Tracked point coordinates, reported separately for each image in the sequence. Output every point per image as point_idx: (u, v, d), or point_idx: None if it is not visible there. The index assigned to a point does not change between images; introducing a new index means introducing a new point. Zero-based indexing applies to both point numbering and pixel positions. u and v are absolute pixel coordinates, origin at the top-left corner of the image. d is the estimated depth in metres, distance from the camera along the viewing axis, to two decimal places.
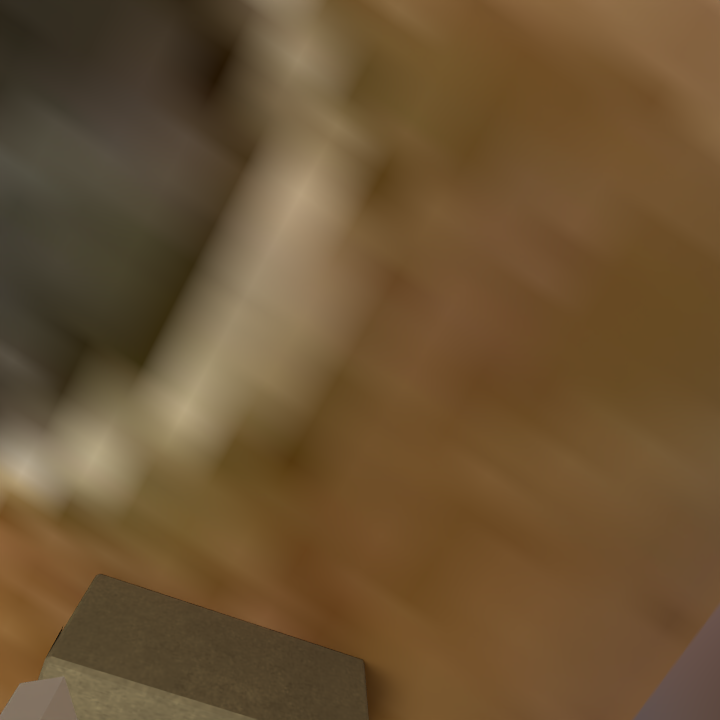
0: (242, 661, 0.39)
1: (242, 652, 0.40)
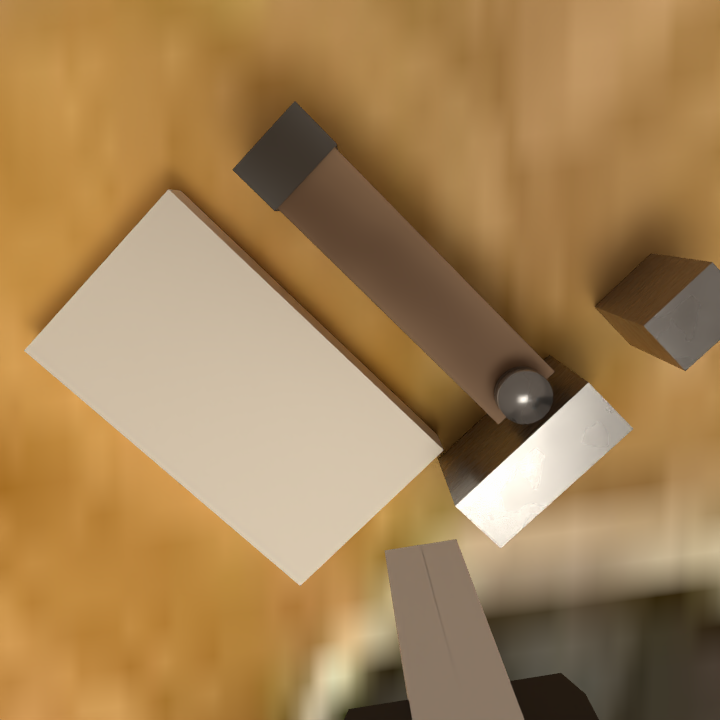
0: None
1: None
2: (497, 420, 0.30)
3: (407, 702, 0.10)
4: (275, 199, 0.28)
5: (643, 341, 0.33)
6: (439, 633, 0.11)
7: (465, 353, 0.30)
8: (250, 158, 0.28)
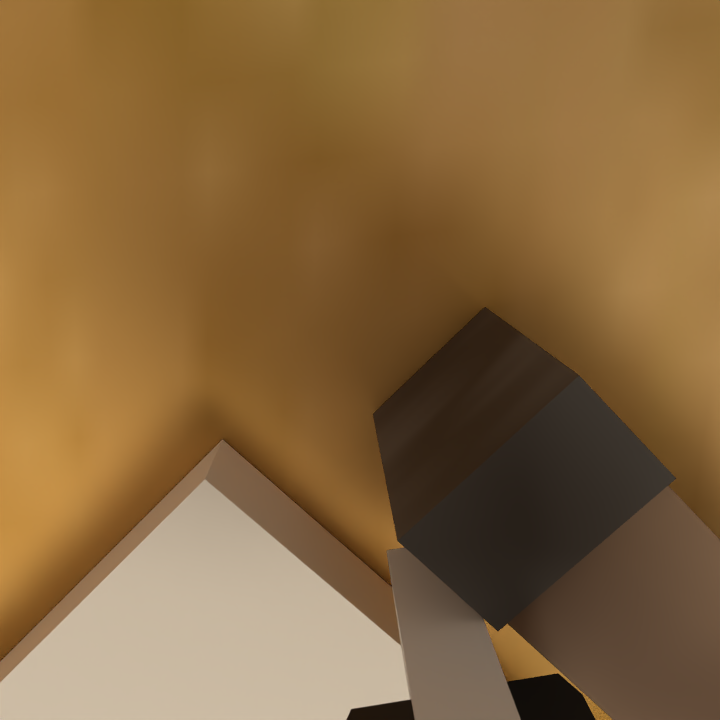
0: None
1: None
2: None
3: (410, 702, 0.10)
4: (502, 605, 0.11)
5: None
6: (436, 633, 0.11)
7: None
8: (446, 514, 0.10)
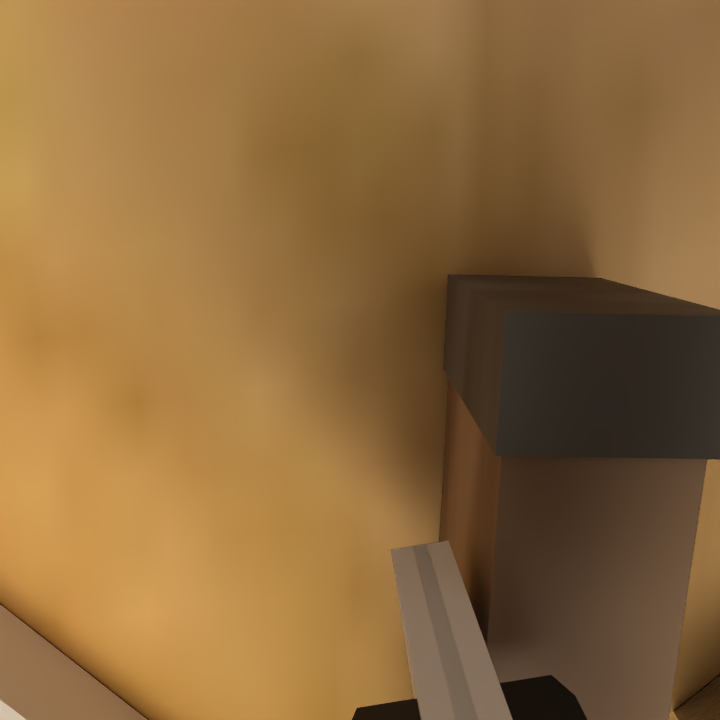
0: None
1: None
2: None
3: (415, 701, 0.10)
4: (518, 438, 0.11)
5: None
6: (430, 635, 0.11)
7: None
8: (558, 326, 0.10)
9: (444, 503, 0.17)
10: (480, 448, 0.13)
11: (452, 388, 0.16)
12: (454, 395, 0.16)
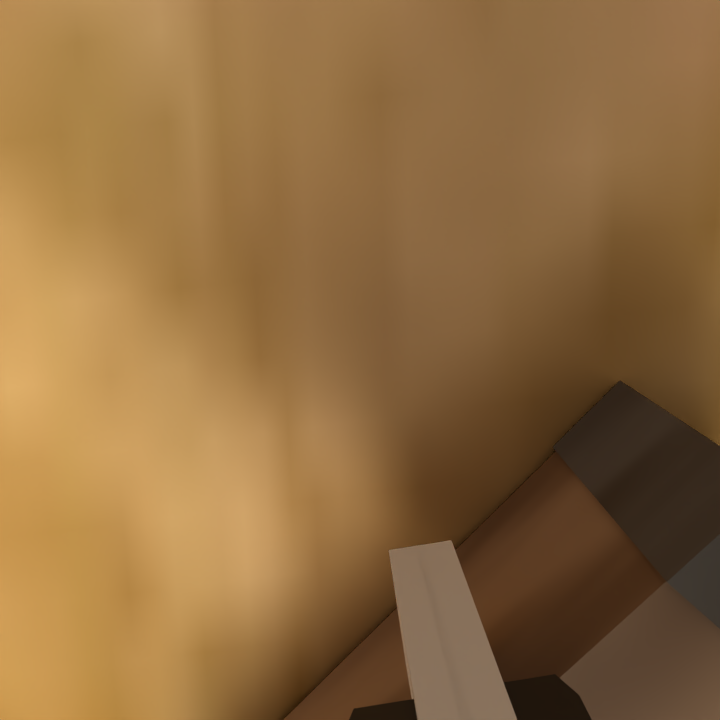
0: None
1: None
2: None
3: (412, 701, 0.10)
4: (694, 582, 0.11)
5: None
6: (433, 634, 0.11)
7: None
8: None
9: (465, 551, 0.17)
10: (606, 552, 0.13)
11: (554, 470, 0.17)
12: (558, 478, 0.16)
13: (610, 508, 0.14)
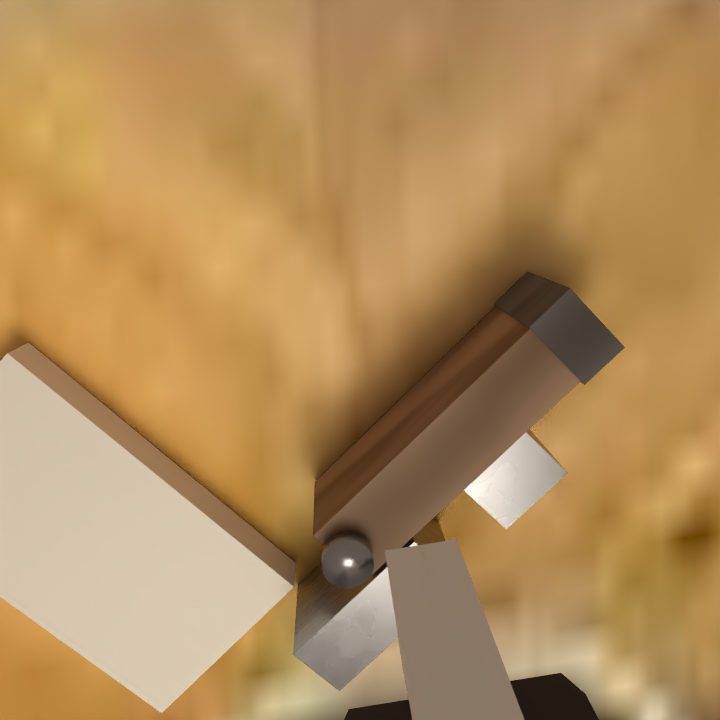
0: None
1: None
2: (317, 534, 0.31)
3: (407, 702, 0.10)
4: (540, 328, 0.29)
5: None
6: (439, 633, 0.11)
7: (384, 502, 0.31)
8: (578, 305, 0.29)
9: (449, 354, 0.35)
10: (510, 330, 0.31)
11: (494, 313, 0.35)
12: (495, 315, 0.34)
13: (514, 315, 0.32)
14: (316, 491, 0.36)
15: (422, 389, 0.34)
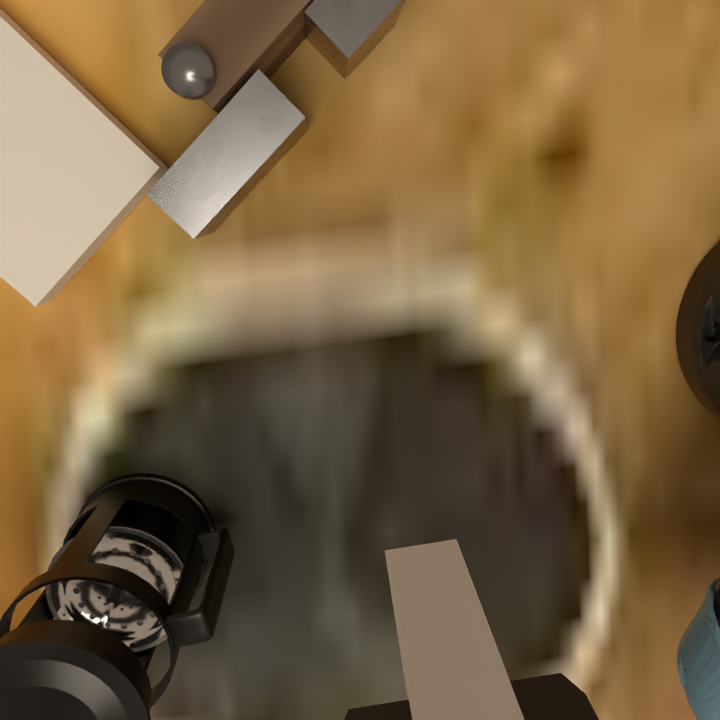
0: None
1: None
2: (161, 53, 0.32)
3: (407, 702, 0.10)
4: None
5: (330, 50, 0.35)
6: (439, 633, 0.11)
7: (226, 19, 0.32)
8: None
9: None
10: None
11: None
12: None
13: None
14: None
15: None
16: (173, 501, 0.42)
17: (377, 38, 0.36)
